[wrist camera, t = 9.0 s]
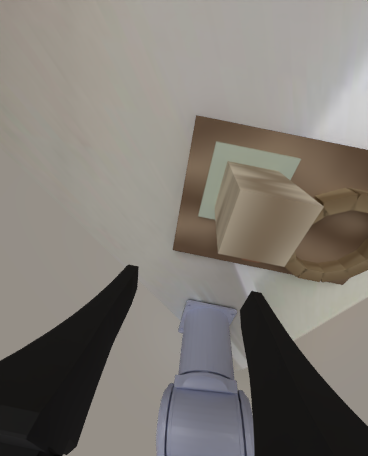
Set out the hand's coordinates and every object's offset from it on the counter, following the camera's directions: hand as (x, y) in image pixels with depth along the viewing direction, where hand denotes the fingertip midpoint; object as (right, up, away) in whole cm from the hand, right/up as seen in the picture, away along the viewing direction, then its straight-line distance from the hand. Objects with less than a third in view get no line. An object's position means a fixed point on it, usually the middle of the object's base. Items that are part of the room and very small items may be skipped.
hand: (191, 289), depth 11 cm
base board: (+10, +6, +8) cm, 13 cm away
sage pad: (+5, +8, +5) cm, 11 cm away
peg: (+5, +7, +5) cm, 10 cm away
